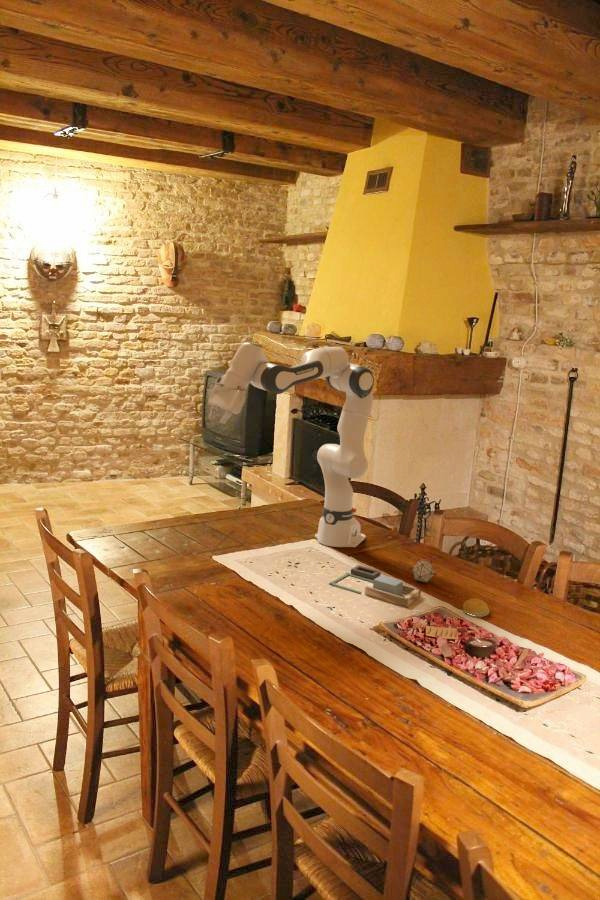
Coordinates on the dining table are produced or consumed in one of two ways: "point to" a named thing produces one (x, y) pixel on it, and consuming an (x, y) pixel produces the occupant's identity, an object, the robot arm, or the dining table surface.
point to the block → (388, 585)
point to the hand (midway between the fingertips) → (216, 420)
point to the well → (365, 572)
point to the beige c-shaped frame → (404, 601)
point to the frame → (346, 587)
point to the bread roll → (476, 607)
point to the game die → (423, 571)
